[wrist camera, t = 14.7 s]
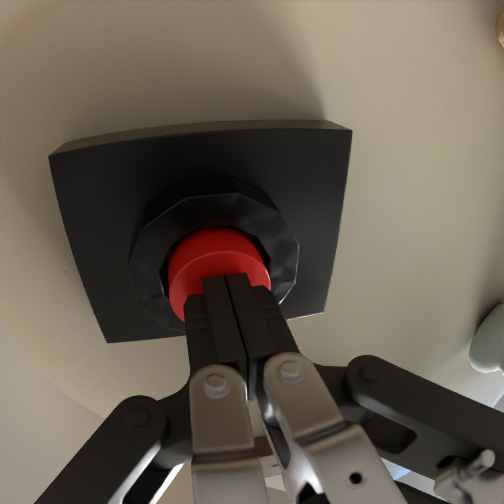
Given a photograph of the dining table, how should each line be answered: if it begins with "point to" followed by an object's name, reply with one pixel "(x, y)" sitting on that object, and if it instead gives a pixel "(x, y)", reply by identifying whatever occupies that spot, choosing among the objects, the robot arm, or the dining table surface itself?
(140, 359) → the dining table surface
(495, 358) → the air freshener
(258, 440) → the dimmer panel
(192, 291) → the light button
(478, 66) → the dining table surface
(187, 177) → the switch block
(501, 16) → the pottery oil lamp
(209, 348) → the robot arm
